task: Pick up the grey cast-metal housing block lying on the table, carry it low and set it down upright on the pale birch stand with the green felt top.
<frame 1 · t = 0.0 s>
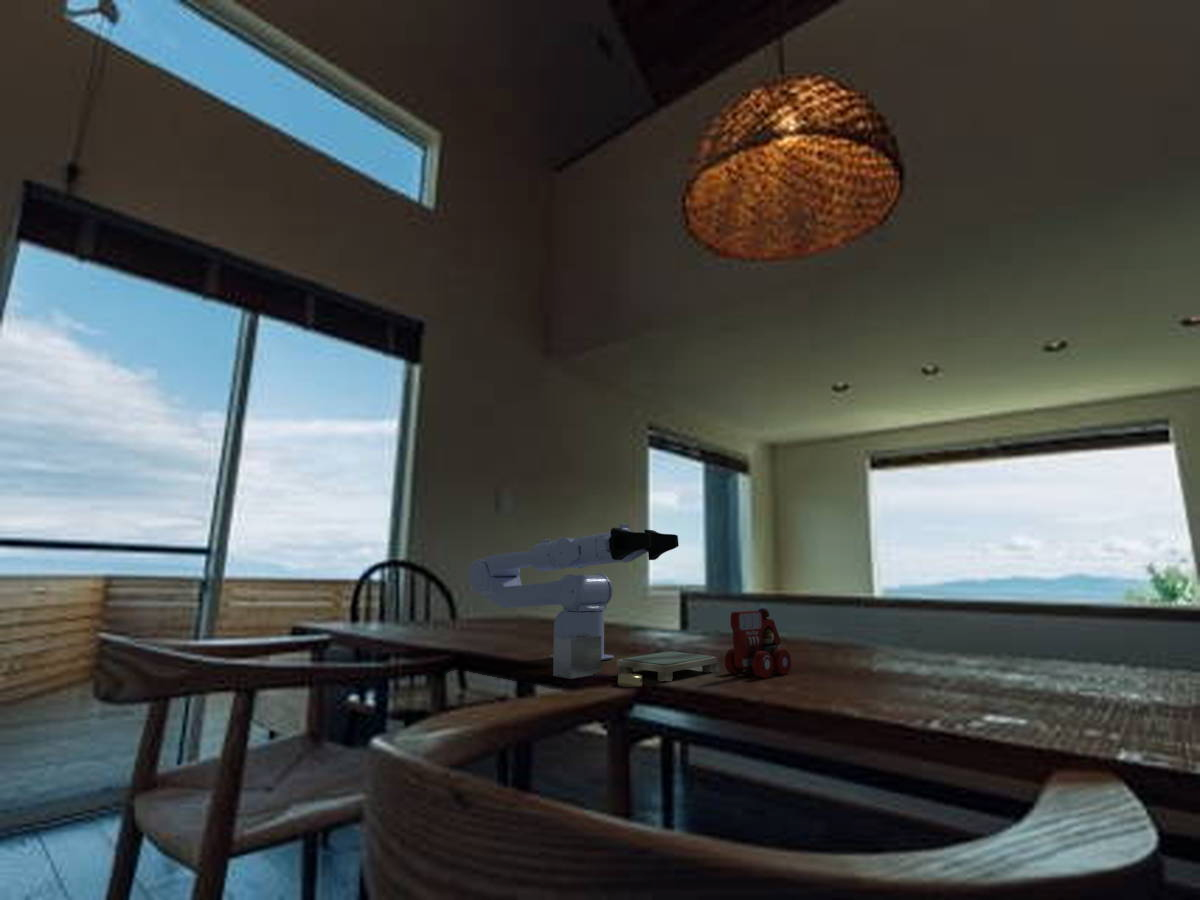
hand: (663, 540, 113), 22 cm above the table, tool horizontal, fingers open, 7 cm apart
brass nut: (630, 686, 96), on the table
stand: (668, 673, 106), on the table
housing: (577, 675, 105), on the table
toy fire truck: (759, 675, 106), on the table
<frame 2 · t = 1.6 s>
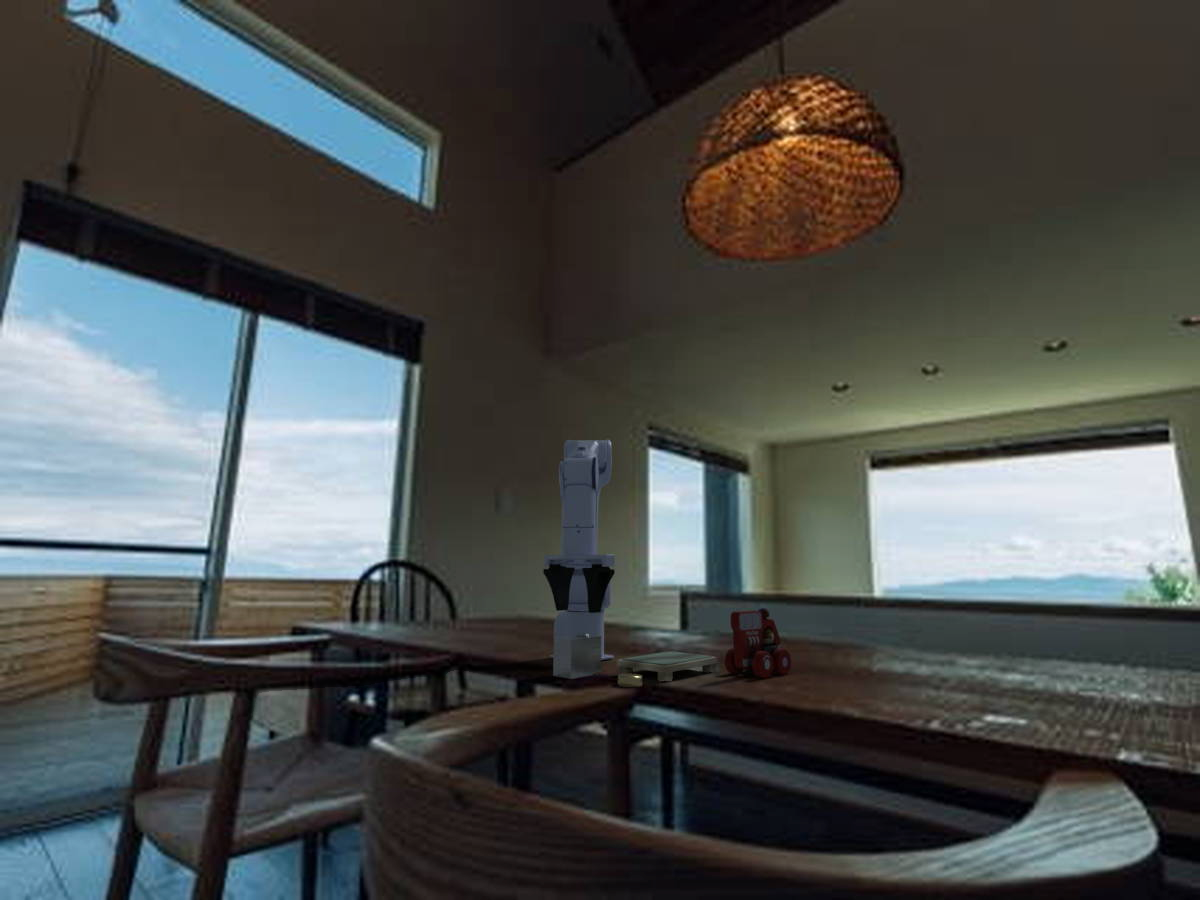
hand: (578, 611, 107), 10 cm above the table, tool pointing down, fingers open, 7 cm apart
nothing on the table moved.
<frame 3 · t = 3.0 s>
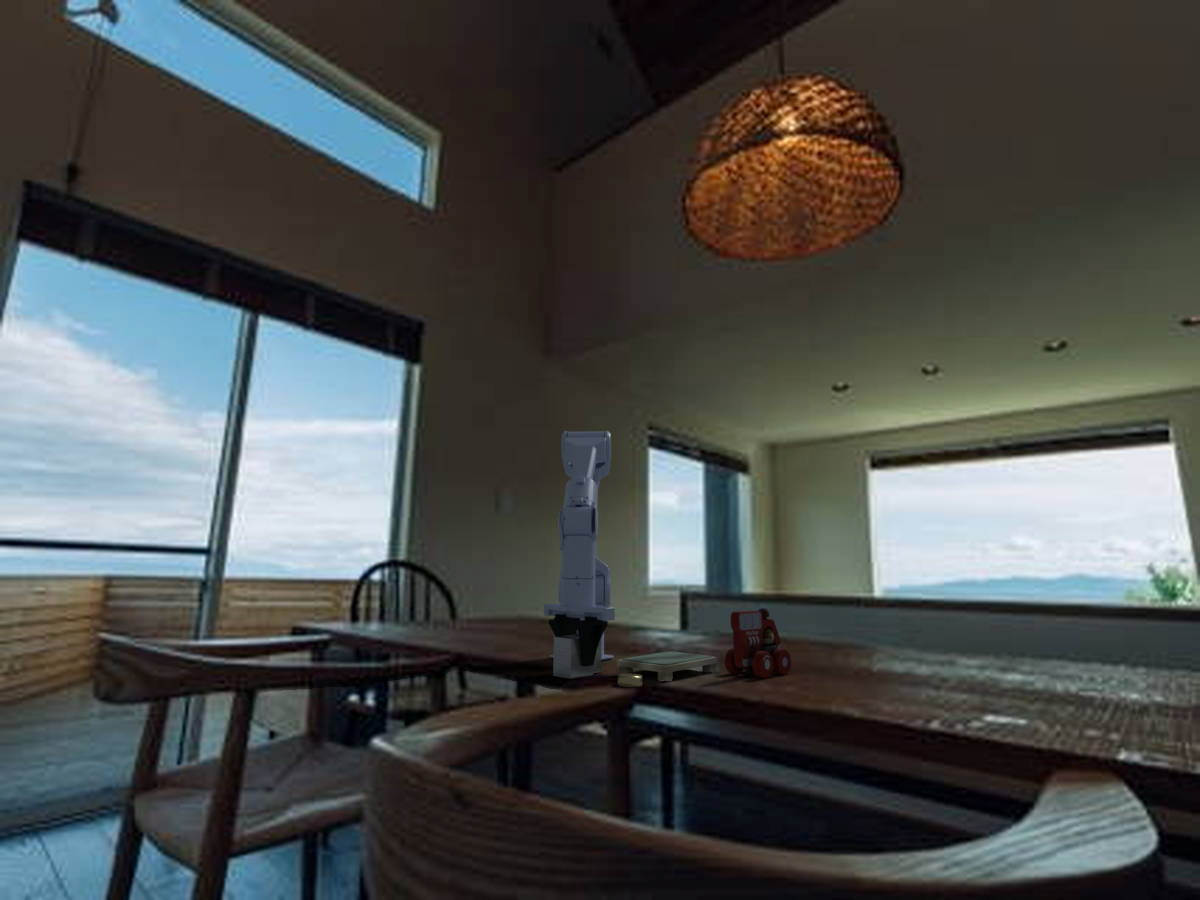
hand: (577, 664, 105), 2 cm above the table, tool pointing down, fingers closed on housing, 4 cm apart
housing: (577, 674, 105), on the table, touching gripper
everything else where it was.
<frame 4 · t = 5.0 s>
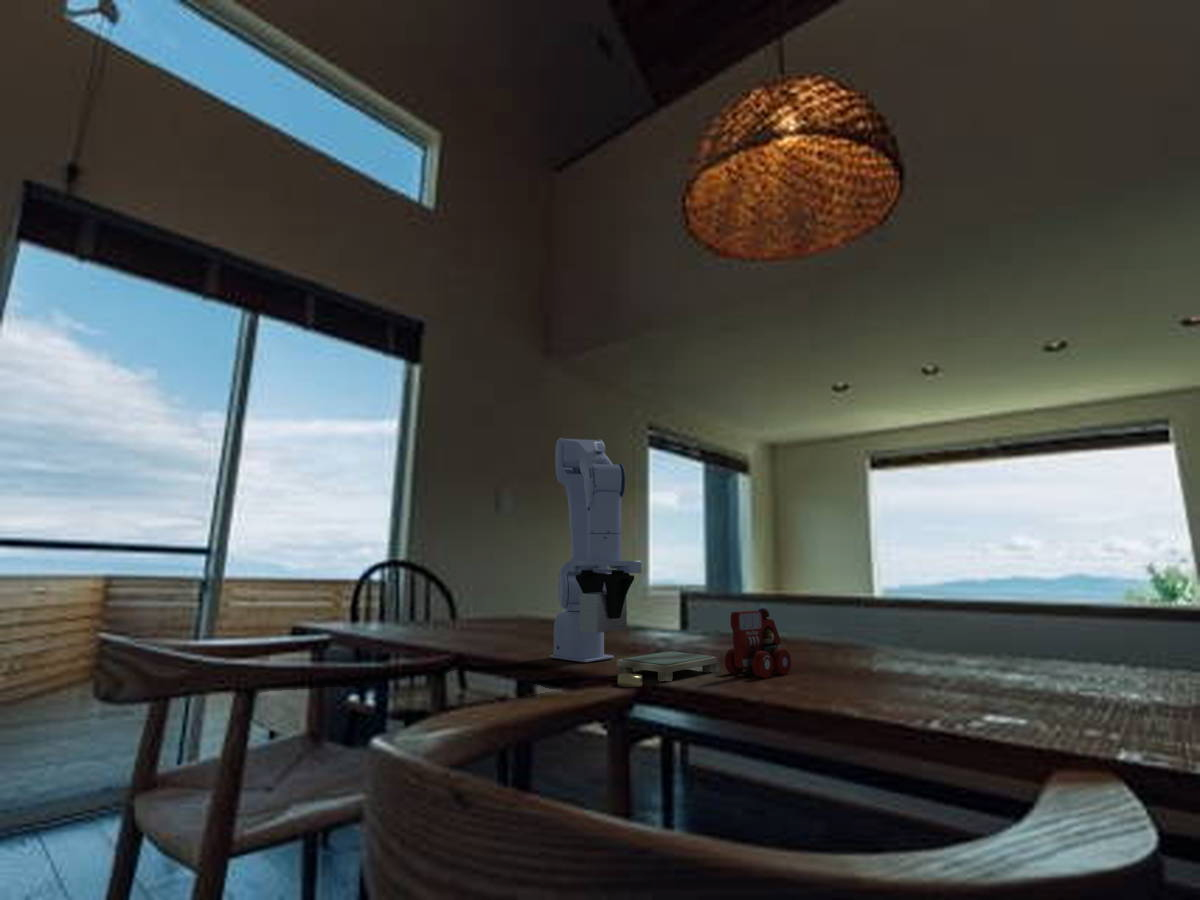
hand: (604, 617, 107), 9 cm above the table, tool pointing down, fingers closed on housing, 4 cm apart
housing: (603, 630, 106), point 7 cm above the table, touching gripper
everything else where it was.
when the fingers open (5 cm above the table, at t = 7.0 s): housing stays where it is, resting on stand.
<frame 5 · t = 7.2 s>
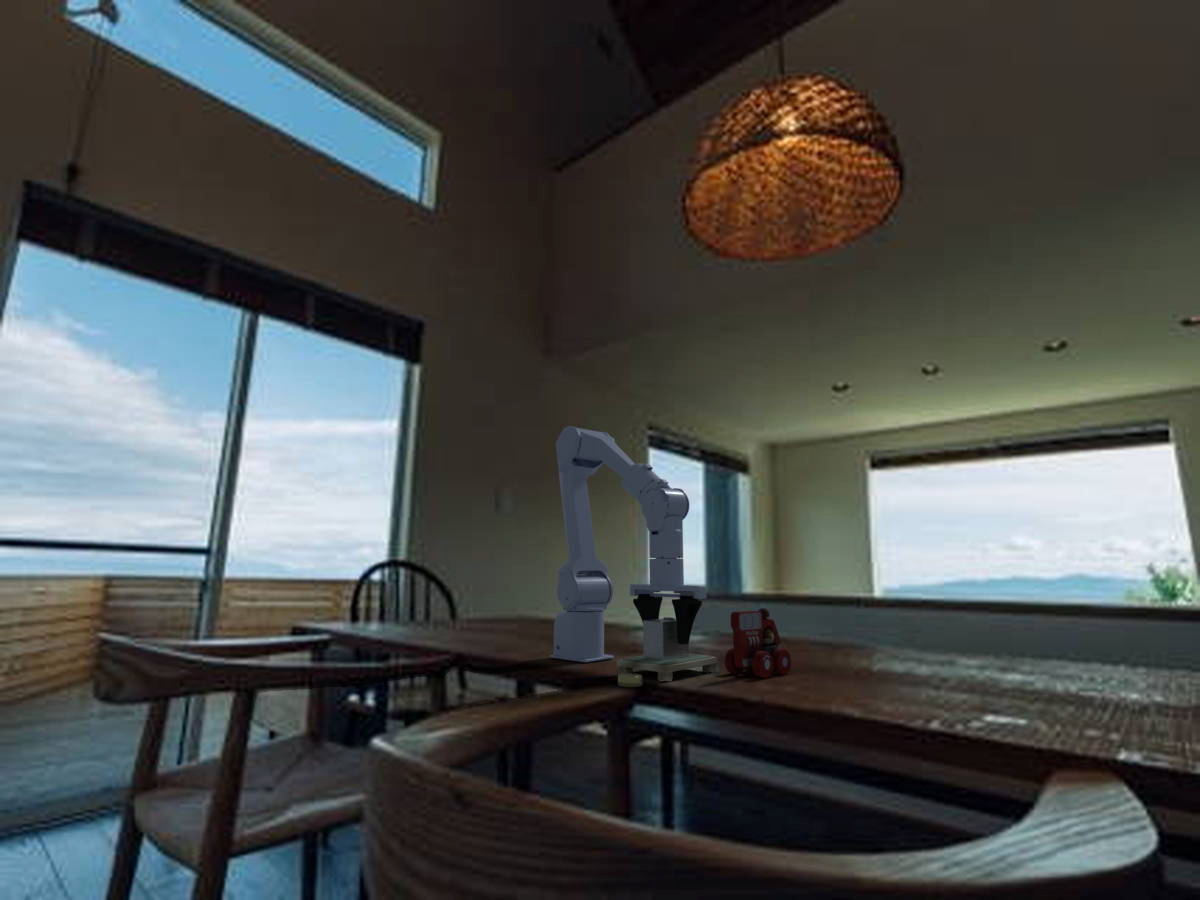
hand: (667, 642, 107), 5 cm above the table, tool pointing down, fingers open, 6 cm apart
housing: (666, 657, 106), point 2 cm above the table, touching stand
everything else where it was.
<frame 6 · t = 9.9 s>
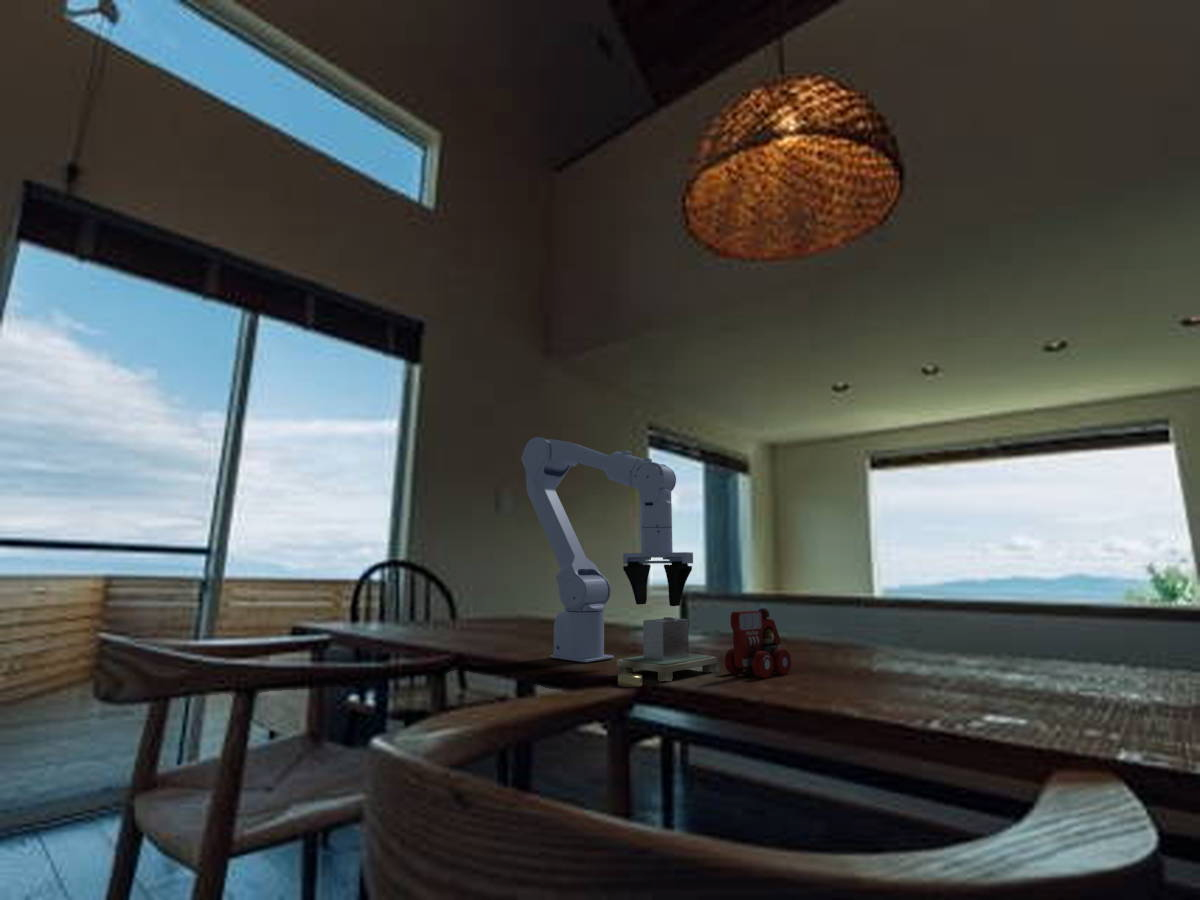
hand: (657, 605, 116), 10 cm above the table, tool pointing down, fingers open, 7 cm apart
nothing on the table moved.
at the end: housing inside the target area on the stand (0.4 cm from its centre), point 2.5 cm above the stand's base; housing tilted 0°; the gripper is holding nothing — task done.
